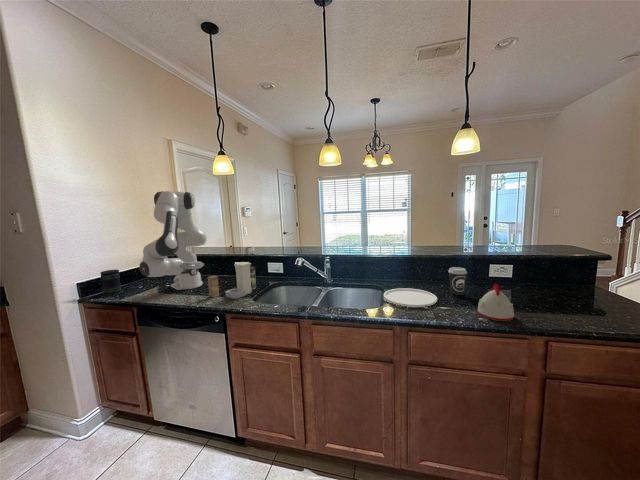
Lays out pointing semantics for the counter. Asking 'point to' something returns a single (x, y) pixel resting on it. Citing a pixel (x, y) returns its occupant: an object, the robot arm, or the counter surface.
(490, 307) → the kitchen timer
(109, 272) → the storage jar
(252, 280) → the coffee can
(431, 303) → the plate
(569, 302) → the counter surface
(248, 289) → the boot
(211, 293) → the tan rectangular block
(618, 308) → the counter surface
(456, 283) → the coffee cup
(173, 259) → the robot arm
